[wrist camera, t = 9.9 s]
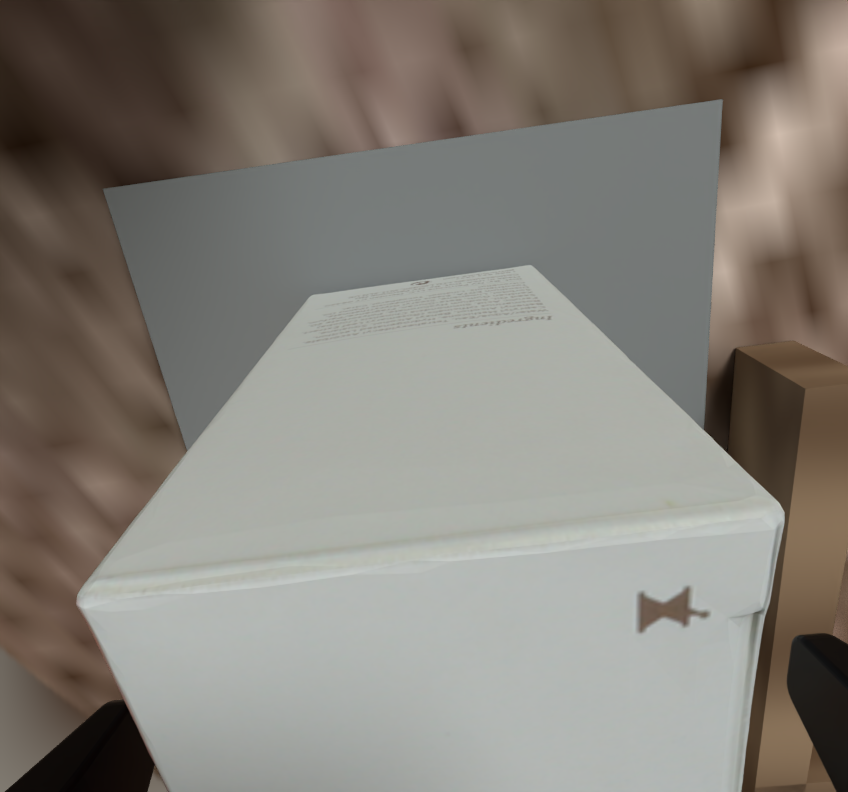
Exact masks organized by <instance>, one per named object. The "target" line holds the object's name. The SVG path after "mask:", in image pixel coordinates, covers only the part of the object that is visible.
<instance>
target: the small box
mask: <svg viewBox="0 0 848 792" xmlns="http://www.w3.org/2000/svg"><path fill="white" fill-rule="evenodd" d="M784 523H785V512H784V510H783V509H782V507H781V505H780V503H779V502H778V501H777V500H776V499H775V498H774V497H773V496H772V495H771V494H769V493H768V492H767V491H766V490H765V489H764V488H763V487H762V486H761V485H760V484H759V483H758V482H757V481H756V480H755V479H754V478H752V477H751V476H750V475H749V474H748V473H747V472H746V471H745V470H744V469H743V468H742V467H741V466H740V465H739V464H738V463H737V462H736V461H735V460H734V459H733V458H732V457H731V456H730V455H729V454H728V453H727V452H726V451H725V450H723V449H722V448H721V447H720V446H719V445H718V444H717V443H716V442H715V441H714V440H713V438H712V437H711V436H710V435H708V434H707V433H706V432H705V431H704V430H703V429H702V428H701V427H700V426H699V425H698V424H697V423H696V422H695V421H694V420H693V419H692V418H691V417H690V416H689V415H688V414H687V413H686V412H685V411H684V410H682V409H681V408H680V407H679V406H678V405H677V404H676V403H675V402H674V401H673V400H672V399H671V398H670V397H669V396H668V395H667V394H666V393H664V392H663V391H662V390H661V389H660V388H659V387H658V386H657V385H656V384H655V383H654V382H653V381H652V380H651V379H650V378H649V377H648V376H646V375H645V374H644V373H643V372H642V371H641V370H640V369H639V368H638V367H637V366H636V365H635V364H634V363H633V362H632V361H631V360H629V358H628V357H627V356H626V355H625V354H624V353H623V352H622V351H621V350H620V349H619V348H618V347H617V346H616V345H615V344H614V343H613V342H612V341H611V340H610V339H609V338H608V337H607V336H606V335H605V334H604V333H602V332H601V331H600V330H599V329H598V328H597V327H596V326H595V325H594V324H593V323H592V322H591V321H590V320H589V319H588V318H587V317H586V316H585V315H584V314H583V313H582V312H581V311H580V310H578V309H577V308H576V307H575V306H574V305H573V304H572V303H571V302H570V301H569V300H568V299H567V298H566V297H565V296H564V295H563V294H562V293H561V292H560V291H559V290H558V289H557V288H556V287H555V286H554V285H552V284H551V283H550V282H549V281H548V280H547V279H546V278H545V277H544V276H543V275H542V274H541V273H540V272H539V271H538V270H537V269H536V268H534V267H533V266H532V265H526V266H519V267H513V268H506V269H499V270H491V271H483V272H476V273H469V274H462V275H454V276H447V277H440V278H433V279H425V280H418V281H410V282H403V283H395V284H388V285H381V286H374V287H367V288H359V289H353V290H346V291H339V292H332V293H325V294H315V295H312V296H310V297H309V298H308V299H307V300H306V302H305V303H304V304H303V306H302V307H301V308H300V309H299V310H298V312H297V313H296V314H295V316H294V317H293V318H292V319H291V321H290V322H289V323H288V324H287V326H286V327H285V328H284V330H283V331H282V332H281V333H280V334H279V335H278V337H277V338H276V339H275V341H274V342H273V344H272V345H271V346H270V348H269V349H268V350H267V351H266V353H265V354H264V355H263V356H262V357H261V359H260V360H259V361H258V363H257V364H256V365H255V366H254V368H253V369H252V370H251V371H250V372H249V374H248V375H247V376H246V378H245V379H244V380H243V382H242V383H241V384H240V386H239V387H238V388H237V389H236V391H235V392H234V393H233V394H232V396H231V397H230V398H229V400H228V401H227V402H226V403H225V404H224V406H223V407H222V408H221V410H220V411H219V412H218V413H217V415H216V416H215V417H214V418H213V420H212V421H211V422H210V423H209V425H208V426H207V427H206V428H205V430H204V431H203V432H202V434H201V435H200V436H199V437H198V439H197V440H196V441H195V442H194V444H193V445H192V446H191V448H190V449H189V450H188V451H187V453H186V454H185V455H184V456H183V458H182V459H181V460H180V462H179V463H178V464H177V465H176V467H175V468H174V469H173V470H172V472H171V473H170V474H169V475H168V477H167V478H166V479H165V481H164V482H163V483H162V485H161V486H160V488H159V489H158V490H157V492H156V493H155V494H154V496H153V497H152V498H151V500H150V501H149V502H148V503H147V504H146V506H145V507H144V508H143V509H142V510H141V512H140V513H139V514H138V515H137V516H136V518H135V519H134V520H133V522H132V523H131V524H130V525H129V527H128V528H127V529H126V531H125V532H124V533H123V535H122V536H121V537H120V539H119V540H118V541H117V542H116V544H115V545H114V546H113V548H112V549H111V550H110V552H109V553H108V554H107V555H106V557H105V558H104V559H103V561H102V562H101V563H100V564H99V566H98V567H97V568H96V570H95V571H94V572H93V573H92V575H91V576H90V577H89V579H88V580H87V581H86V583H85V584H84V585H83V586H82V588H81V590H80V591H79V593H78V595H77V604H76V605H77V607H78V609H79V610H80V612H81V614H82V616H83V617H84V619H85V621H86V623H87V625H88V627H89V629H90V631H91V633H92V635H93V637H94V639H95V641H96V643H97V645H98V647H99V649H100V651H101V653H102V655H103V657H104V660H105V662H106V664H107V666H108V668H109V670H110V672H111V674H112V676H113V678H114V680H115V682H116V684H117V687H118V689H119V691H120V693H121V695H122V697H123V699H124V701H125V703H126V705H127V707H128V709H129V712H130V714H131V716H132V718H133V720H134V722H135V724H136V726H137V728H138V730H139V732H140V735H141V737H142V739H143V741H144V743H145V746H146V748H147V750H148V752H149V754H150V756H151V758H152V760H153V762H154V764H155V765H156V767H157V769H158V771H159V773H160V776H161V778H162V780H163V782H164V784H165V786H166V789H167V791H168V792H741V790H742V783H743V774H744V765H745V755H746V745H747V739H748V732H749V724H750V713H751V705H752V698H753V691H754V684H755V677H756V670H757V663H758V657H759V650H760V643H761V636H762V630H763V624H764V619H765V615H766V612H767V609H768V607H769V604H770V599H771V592H772V586H773V580H774V574H775V568H776V562H777V557H778V552H779V548H780V543H781V538H782V533H783V528H784Z"/></svg>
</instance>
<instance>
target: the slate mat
mask: <svg viewBox="0 0 848 792" xmlns="http://www.w3.org/2000/svg"><path fill="white" fill-rule="evenodd" d="M722 100H723V99H721V100H714V101H707V102H700V103H694V104H687V105H680V106H673V107H666V108H659V109H652V110H645V111H638V112H631V113H624V114H617V115H611V116H604V117H597V118H590V119H583V120H576V121H569V122H562V123H555V124H548V125H541V126H535V127H528V128H521V129H514V130H507V131H500V132H493V133H486V134H479V135H472V136H465V137H458V138H452V139H445V140H438V141H431V142H424V143H417V144H410V145H403V146H396V147H389V148H382V149H376V150H369V151H362V152H355V153H348V154H341V155H334V156H327V157H320V158H313V159H306V160H299V161H293V162H286V163H279V164H272V165H265V166H258V167H251V168H244V169H237V170H230V171H223V172H217V173H210V174H203V175H196V176H189V177H182V178H175V179H168V180H161V181H154V182H147V183H140V184H134V185H127V186H120V187H113V188H106V189H103V191H104V194H105V197H106V201H107V204H108V207H109V210H110V213H111V216H112V219H113V222H114V225H115V228H116V232H117V235H118V238H119V241H120V244H121V247H122V250H123V253H124V256H125V259H126V263H127V266H128V269H129V272H130V275H131V278H132V281H133V284H134V287H135V290H136V294H137V297H138V300H139V303H140V306H141V309H142V312H143V315H144V318H145V321H146V325H147V328H148V331H149V334H150V337H151V340H152V343H153V346H154V349H155V353H156V356H157V359H158V362H159V365H160V368H161V371H162V374H163V377H164V380H165V384H166V387H167V390H168V393H169V396H170V399H171V402H172V405H173V408H174V411H175V415H176V418H177V421H178V424H179V427H180V430H181V433H182V436H183V439H184V442H185V446H186V449H187V451H188V450H189V449H190V448H191V446H192V445H193V444H194V442H195V441H196V440H197V439H198V437H199V436H200V435H201V434H202V432H203V431H204V430H205V428H206V427H207V426H208V425H209V423H210V422H211V421H212V420H213V418H214V417H215V416H216V415H217V413H218V412H219V411H220V410H221V408H222V407H223V406H224V404H225V403H226V402H227V401H228V400H229V398H230V397H231V396H232V394H233V393H234V392H235V391H236V389H237V388H238V387H239V386H240V384H241V383H242V382H243V380H244V379H245V378H246V376H247V375H248V374H249V372H250V371H251V370H252V369H253V368H254V366H255V365H256V364H257V363H258V361H259V360H260V359H261V357H262V356H263V355H264V354H265V353H266V351H267V350H268V349H269V348H270V346H271V345H272V344H273V342H274V341H275V339H276V338H277V337H278V335H279V334H280V333H281V332H282V331H283V330H284V328H285V327H286V326H287V324H288V323H289V322H290V321H291V319H292V318H293V317H294V316H295V314H296V313H297V312H298V310H299V309H300V308H301V307H302V306H303V304H304V303H305V302H306V300H307V299H308V298H309V297H310V296H312V295H315V294H325V293H332V292H339V291H346V290H353V289H359V288H367V287H374V286H381V285H388V284H395V283H403V282H410V281H418V280H425V279H433V278H440V277H447V276H454V275H462V274H469V273H476V272H483V271H491V270H499V269H506V268H513V267H519V266H526V265H532V266H533V267H534V268H536V269H537V270H538V271H539V272H540V273H541V274H542V275H543V276H544V277H545V278H546V279H547V280H548V281H549V282H550V283H551V284H552V285H554V286H555V287H556V288H557V289H558V290H559V291H560V292H561V293H562V294H563V295H564V296H565V297H566V298H567V299H568V300H569V301H570V302H571V303H572V304H573V305H574V306H575V307H576V308H577V309H578V310H580V311H581V312H582V313H583V314H584V315H585V316H586V317H587V318H588V319H589V320H590V321H591V322H592V323H593V324H594V325H595V326H596V327H597V328H598V329H599V330H600V331H601V332H602V333H604V334H605V335H606V336H607V337H608V338H609V339H610V340H611V341H612V342H613V343H614V344H615V345H616V346H617V347H618V348H619V349H620V350H621V351H622V352H623V353H624V354H625V355H626V356H627V357H628V358H629V360H631V361H632V362H633V363H634V364H635V365H636V366H637V367H638V368H639V369H640V370H641V371H642V372H643V373H644V374H645V375H646V376H648V377H649V378H650V379H651V380H652V381H653V382H654V383H655V384H656V385H657V386H658V387H659V388H660V389H661V390H662V391H663V392H664V393H666V394H667V395H668V396H669V397H670V398H671V399H672V400H673V401H674V402H675V403H676V404H677V405H678V406H679V407H680V408H681V409H682V410H684V411H685V412H686V413H687V414H688V415H689V416H690V417H691V418H692V419H693V420H694V421H695V422H696V423H697V424H698V425H699V426H700V427H701V428H702V429H703V430H704V418H705V401H706V383H707V365H708V348H709V330H710V312H711V295H712V277H713V259H714V242H715V224H716V206H717V189H718V171H719V153H720V136H721V118H722Z"/></svg>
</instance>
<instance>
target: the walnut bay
mask: <svg viewBox="0 0 848 792" xmlns="http://www.w3.org/2000/svg"><path fill="white" fill-rule="evenodd" d="M728 454H729V455H730V456H731V457H732V458H733V459H734V460H735V461H736V462H737V463H738V464H739V465H740V466H741V467H742V468H743V469H744V470H745V471H746V472H747V473H748V474H749V475H750V476H751V477H752V478H754V479H755V480H756V481H757V482H758V483H759V484H760V485H761V486H762V487H763V488H764V489H765V490H766V491H767V492H768V493H769V494H771V495H772V496H773V497H774V498H775V499H776V500H777V501H778V502H779V503H780V505H781V507H782V509H783V510H784V512H785V523H784V528H783V533H782V538H781V543H780V548H779V552H778V557H777V562H776V568H775V574H774V580H773V586H772V592H771V599H770V604H769V607H768V609H767V612H766V615H765V619H764V624H763V630H762V636H761V643H760V650H759V657H758V663H757V670H756V677H755V684H754V691H753V698H752V705H751V713H750V724H749V732H748V739H747V745H746V755H745V765H744V774H743V783H742V790H741V792H836V790H835V788H834V786H833V784H832V782H831V780H830V778H829V776H828V774H827V772H826V770H825V768H824V766H823V764H822V762H821V760H820V758H819V756H818V754H817V751H816V749H815V747H814V745H813V743H812V741H811V739H810V737H809V735H808V733H807V731H806V729H805V727H804V725H803V723H802V721H801V719H800V717H799V715H798V713H797V711H796V709H795V707H794V705H793V703H792V700H791V698H790V696H789V693H788V689H787V672H788V665H789V657H790V650H791V644H792V640H793V639H794V638H795V637H796V636H798V635H804V634H815V633H827V634H830V635H832V634H833V628H834V623H835V617H836V611H837V606H838V600H839V594H840V589H841V583H842V577H843V571H844V566H845V560H846V554H847V549H848V366H846V365H844V364H842V363H840V362H837V361H835V360H833V359H831V358H829V357H827V356H825V355H823V354H821V353H819V352H816V351H814V350H812V349H810V348H808V347H806V346H804V345H802V344H800V343H798V342H796V341H787V342H779V343H771V344H762V345H754V346H746V347H738V348H736V352H735V365H734V378H733V392H732V405H731V418H730V432H729V445H728Z"/></svg>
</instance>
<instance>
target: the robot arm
mask: <svg viewBox="0 0 848 792" xmlns="http://www.w3.org/2000/svg"><path fill="white" fill-rule="evenodd" d="M787 689H788V693H789V696H790V698H791V700H792V703H793V705H794V707H795V709H796V711H797V713H798V715H799V717H800V719H801V721H802V723H803V725H804V727H805V729H806V731H807V733H808V735H809V737H810V739H811V741H812V743H813V745H814V747H815V749H816V751H817V754H818V756H819V758H820V760H821V762H822V764H823V766H824V768H825V770H826V772H827V774H828V776H829V778H830V780H831V782H832V784H833V786H834V788H835V790H836V792H848V644H847V643H845V642H843V641H842V640H840V639H838V638H837V637H835V636H833V635H830V634H827V633H815V634H804V635H798V636H796V637H795V638H794V639H793V640H792V644H791V650H790V657H789V665H788V672H787ZM154 765H155V764H154V762H153V760H152V758H151V756H150V754H149V752H148V750H147V748H146V746H145V743H144V741H143V739H142V737H141V735H140V732H139V730H138V728H137V726H136V724H135V722H134V720H133V718H132V716H131V714H130V712H129V709H128V707H127V705H126V703H125V701H124V699H123V700H114V701H110V702H108V703H106V704H104V705H103V706H102V707H101V708H99V709H98V710H97V711H96V712H95V713H94V714H93V715H91V716H90V717H89V718H88V719H87V720H86V721H85V722H84V723H82V724H81V725H80V726H79V727H78V728H77V729H76V730H74V731H73V732H72V733H71V734H70V735H69V736H68V737H66V738H65V739H64V740H63V741H62V742H61V743H60V744H59V745H57V746H56V747H55V748H54V749H53V750H52V751H51V752H50V753H48V754H47V755H46V756H45V757H44V758H43V759H42V760H40V761H39V763H37V764H36V765H35V766H34V767H32V768H31V769H30V770H29V771H28V772H27V773H26V774H24V775H23V776H22V777H21V778H20V779H19V780H18V781H17V782H15V783H14V784H13V785H12V786H11V787H10V788H9V789H7V790H6V791H5V792H147V791H148V787H149V784H150V780H151V777H152V773H153V769H154Z"/></svg>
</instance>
